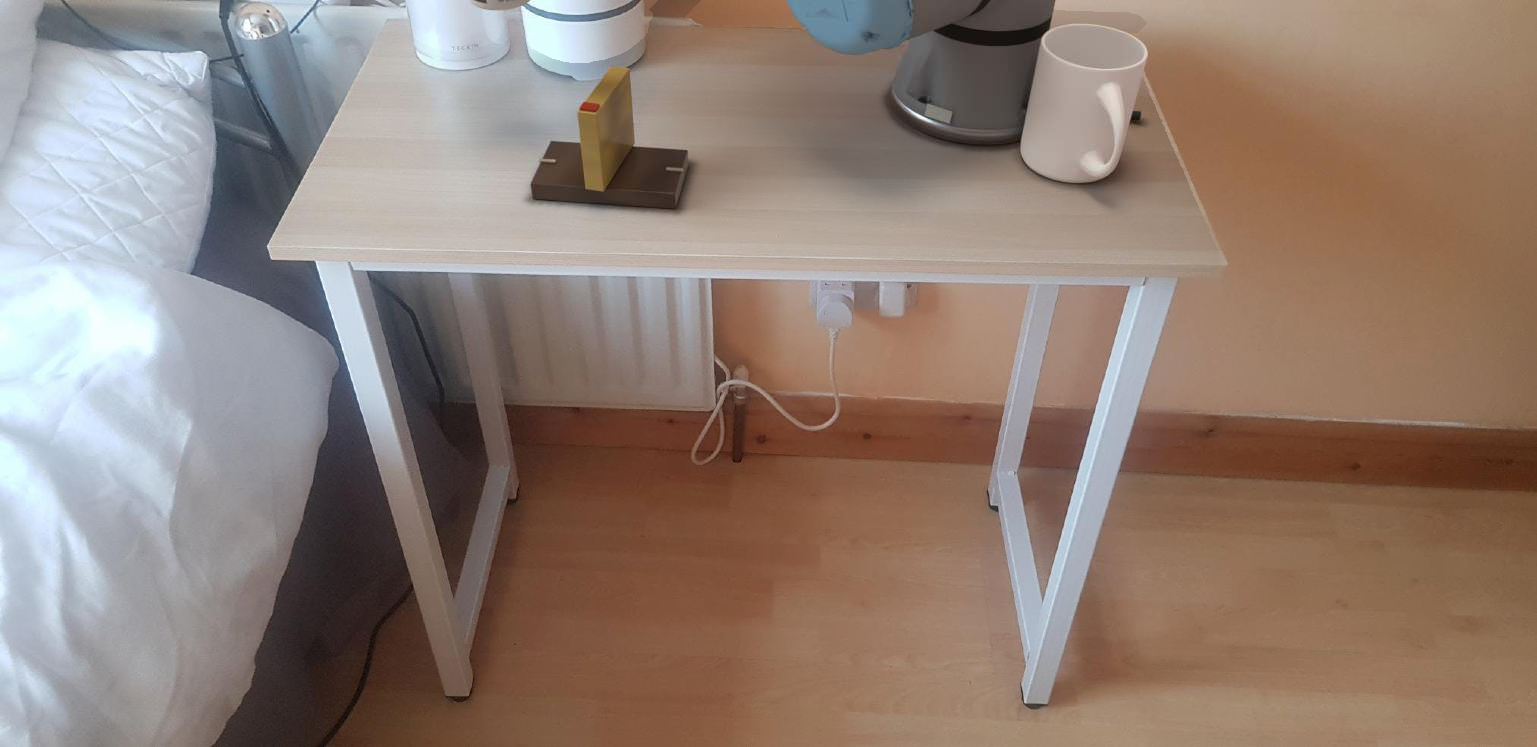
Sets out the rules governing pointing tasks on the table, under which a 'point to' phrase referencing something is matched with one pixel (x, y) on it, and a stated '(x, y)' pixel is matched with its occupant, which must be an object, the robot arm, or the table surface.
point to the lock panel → (636, 182)
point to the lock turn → (606, 128)
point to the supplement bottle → (498, 4)
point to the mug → (1081, 101)
